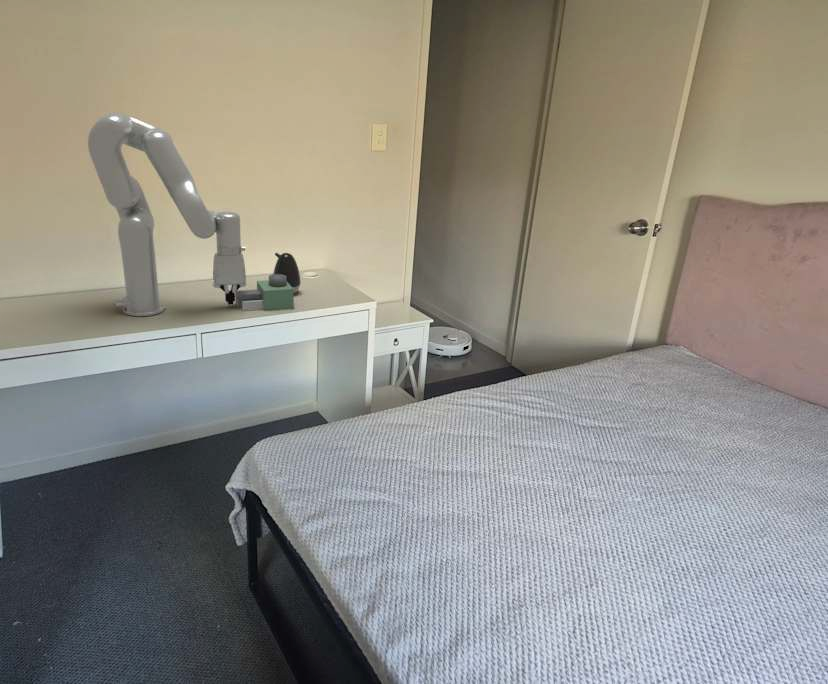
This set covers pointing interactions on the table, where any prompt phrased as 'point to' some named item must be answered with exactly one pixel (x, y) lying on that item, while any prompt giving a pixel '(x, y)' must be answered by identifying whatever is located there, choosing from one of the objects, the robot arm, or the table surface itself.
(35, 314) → the table surface
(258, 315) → the table surface
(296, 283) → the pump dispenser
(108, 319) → the table surface
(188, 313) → the table surface
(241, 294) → the dark gray block
